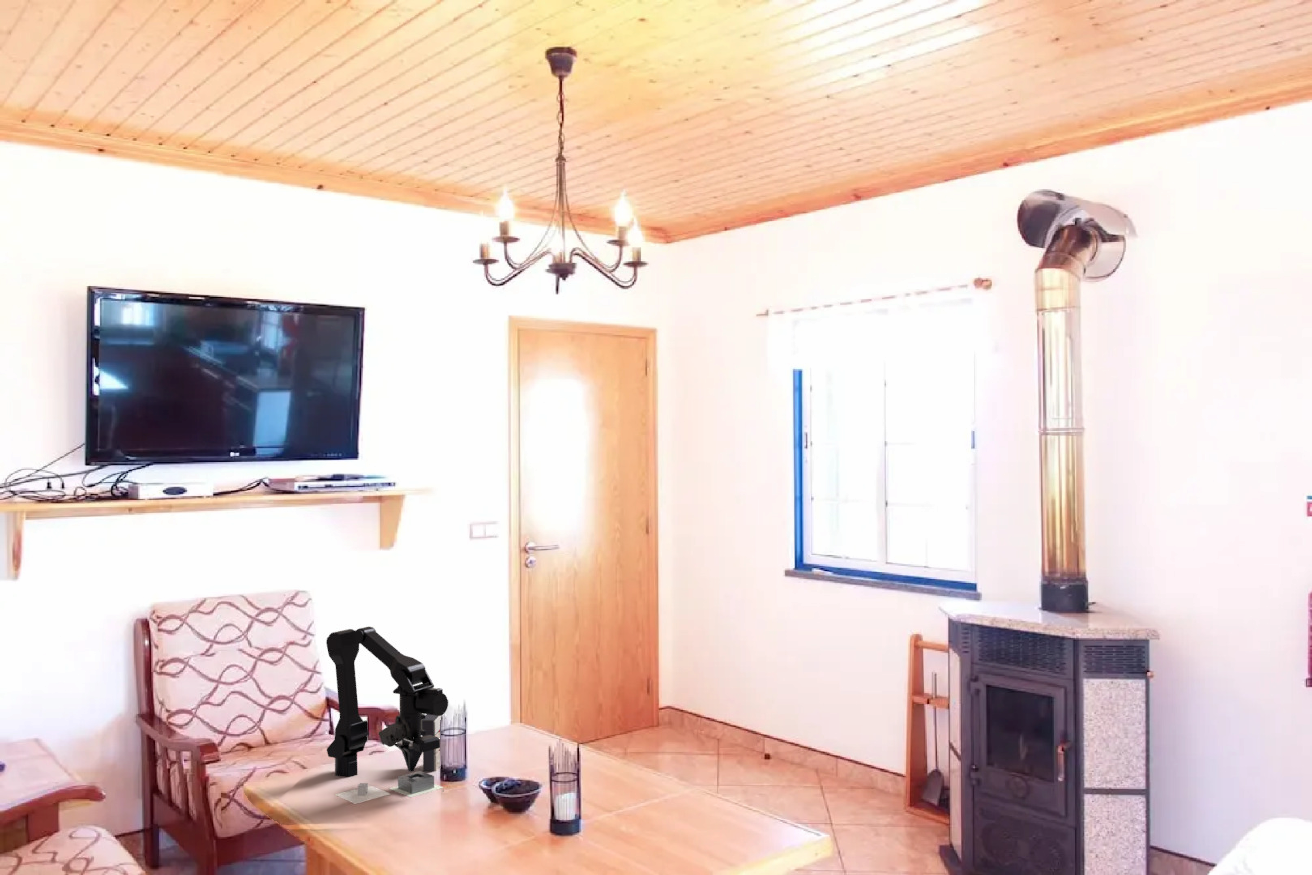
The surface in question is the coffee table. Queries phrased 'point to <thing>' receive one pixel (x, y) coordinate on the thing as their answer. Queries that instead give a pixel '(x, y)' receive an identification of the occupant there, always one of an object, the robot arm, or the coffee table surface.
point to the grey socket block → (415, 782)
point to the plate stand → (362, 793)
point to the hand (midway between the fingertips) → (411, 771)
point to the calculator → (433, 756)
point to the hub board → (415, 793)
